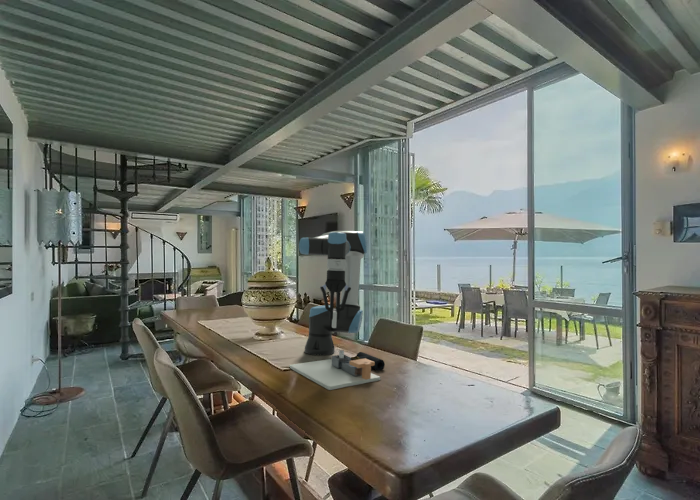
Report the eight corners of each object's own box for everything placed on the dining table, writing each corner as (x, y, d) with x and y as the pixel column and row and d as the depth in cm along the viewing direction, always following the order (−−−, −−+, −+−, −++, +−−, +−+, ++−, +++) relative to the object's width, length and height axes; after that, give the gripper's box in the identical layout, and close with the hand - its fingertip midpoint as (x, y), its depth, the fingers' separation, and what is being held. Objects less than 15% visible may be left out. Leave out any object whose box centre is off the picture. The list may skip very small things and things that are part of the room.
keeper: (364, 375, 157) (365, 358, 157) (376, 380, 151) (376, 362, 151) (348, 378, 152) (349, 360, 152) (359, 383, 146) (360, 365, 146)
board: (335, 360, 178) (335, 358, 178) (380, 379, 152) (380, 376, 152) (289, 367, 164) (289, 364, 164) (329, 390, 138) (329, 386, 138)
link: (331, 365, 165) (331, 355, 165) (343, 363, 168) (344, 354, 168) (352, 376, 150) (352, 366, 150) (365, 374, 153) (365, 364, 153)
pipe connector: (363, 361, 160) (344, 353, 173) (362, 373, 160) (343, 365, 173) (384, 358, 167) (364, 351, 179) (384, 370, 166) (364, 362, 179)
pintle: (341, 368, 165) (342, 350, 165) (344, 370, 163) (344, 351, 164) (337, 369, 164) (338, 350, 164) (340, 370, 162) (341, 351, 162)
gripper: (321, 269, 153) (319, 329, 152) (353, 270, 155) (351, 329, 154) (319, 269, 160) (317, 325, 159) (350, 270, 162) (348, 325, 162)
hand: (334, 327), depth 157 cm, fingers closed
